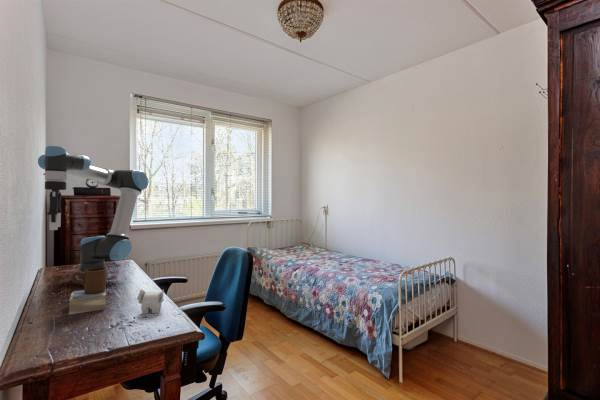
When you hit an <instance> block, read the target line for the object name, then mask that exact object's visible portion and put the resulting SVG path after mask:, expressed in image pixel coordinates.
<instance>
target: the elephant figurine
mask: <svg viewBox="0 0 600 400" xmlns="http://www.w3.org/2000/svg"><path fill="white" fill-rule="evenodd" d="M164 292H165V290H164V289H162V291H145V290H143V289H140V290H139V293H138V296H137V298H136V299H137V301H138V303H139V304H140V310H141V314H142V315H146V314H149V313H150V311H151V314H157V313H159V311H161V308H162V303H164Z"/></svg>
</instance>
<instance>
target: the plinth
mask: <svg viewBox="0 0 600 400" xmlns="http://www.w3.org/2000/svg"><path fill="white" fill-rule="evenodd" d="M68 304H69V305H68V315H75V314H82V313H88V312H95V311H101V310H106V309H107V308H106V307H107V306H106V305H107V289H106V290H105V291H104V292H101V293H97V294H86V293H85V292H84V289H83V290H75V291H72V292H71V294H70V296H69V299H68Z"/></svg>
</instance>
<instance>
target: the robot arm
mask: <svg viewBox="0 0 600 400" xmlns="http://www.w3.org/2000/svg"><path fill="white" fill-rule="evenodd" d="M37 164H38V166H39V168H41V169H42V170H44V171H45V172H43V174H42V175H43V176H44V180H45V181H44V189H45V190H48V191H49V190H50V192H49V196H48V197H49V207H48V208H49V209H48V210H49V211H48V212H47V215H48V216H49V226H48V227H49V229H48V230H49V231H58V230H59V229H58V228H61V223H62V222H61V219H62V213H64V212H63V210H62V206H61V205H62V194H61V191H66V190H67V179H68V178H67V174H68V175H70V176H71V175H72V176H74V177H79V178H83V179H86V180H91V181H94V182H98V183H99V184H100V185H103V186H107V187H110V188H113V189H118V190H119V191H120V197H119V200H118V203H117V207H116V210H115V213H114V218H113V220H112V221H113V222H112V223H111V228H110V231H109V232H108V233H106V236H105V235H97V236H91V237H89V236H88V237H84V238H82V239H81V240H80V245H79V249H80V250H79V252H80V253H79V255H80V257H79V258H80V259H79V267H78V269H77V271H76V272H78V271H81V272H85V270H87V269H91V268H106V278H107V277H108V276H109V271H108V267H107V265H106V261H114V262H115V261H123V260H125V259H126V258H128V256H129V255H130V254H131V251H132V249H133V245H132V242H131V241H130V237H129V235H128V234H129V229H130V226H131V223H132V219H133V216H134V215H133V214H134V212H135V210H134V209H135V207H136V203H137V199H138V196H140V195H141V194H142V191H144V190H147V188H148V187H149V186H148V185H149V179H148V176H147V174H146V172H145V171H142V170H138V169H108V168H100V167H96V166H93V165H91V164H92V162H91V159H90V158H89V156H86V155H83V154H78V153H72V152H71V153H69V152H68V151H67V148H66V147H64V146H60V145H59V146H58V145H48V146H45V151H44V154H42V155H40V156H39V157H38V159H37ZM76 278H77V279H79V280H80V279H82V280H84V276H80V275H76Z"/></svg>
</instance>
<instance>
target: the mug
mask: <svg viewBox="0 0 600 400" xmlns="http://www.w3.org/2000/svg"><path fill="white" fill-rule="evenodd" d="M77 271H78V270H77ZM77 271H75V272H73V273H72V274H71V281H72V282H73V283H74V284H78V285H79V284H80V285H82V286H84V289H83V290H84V292H85V293H86V294H97V293H101V292H104V291H105V290H106V291H107V277H106V268H91V269H87V270H85V272H81V271H78V272H77ZM76 275H80V276H84V280H82V279H80V280H79V279H77V278H76Z"/></svg>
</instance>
